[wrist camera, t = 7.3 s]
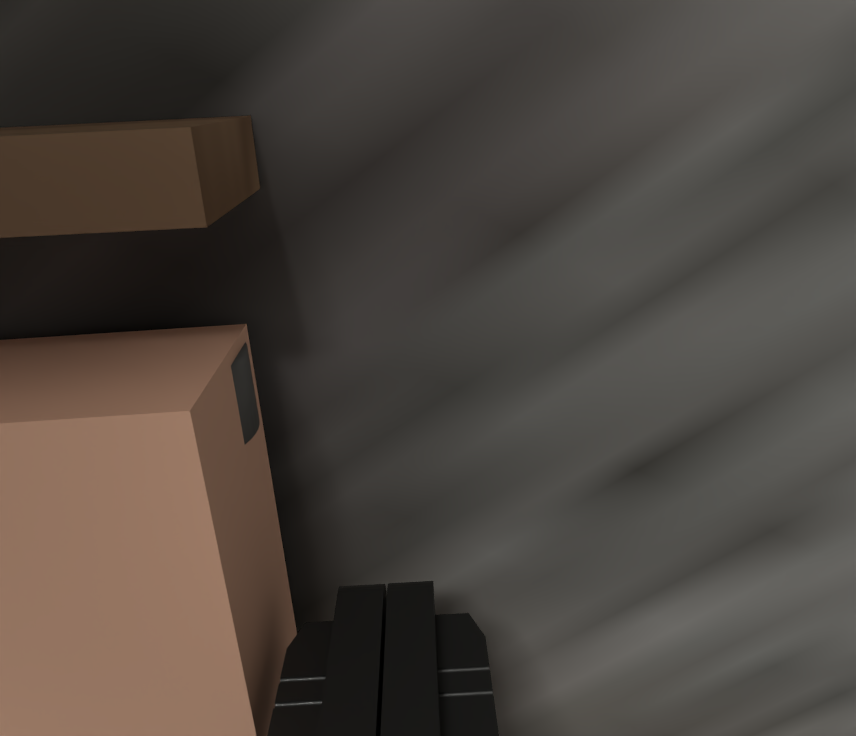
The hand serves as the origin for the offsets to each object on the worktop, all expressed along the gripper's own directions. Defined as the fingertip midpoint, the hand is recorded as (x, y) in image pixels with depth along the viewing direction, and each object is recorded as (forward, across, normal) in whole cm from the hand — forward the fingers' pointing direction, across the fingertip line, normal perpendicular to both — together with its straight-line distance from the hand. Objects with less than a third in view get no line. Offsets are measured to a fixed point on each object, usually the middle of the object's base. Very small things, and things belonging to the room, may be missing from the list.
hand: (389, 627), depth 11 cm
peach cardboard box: (+2, +5, 0) cm, 6 cm away
